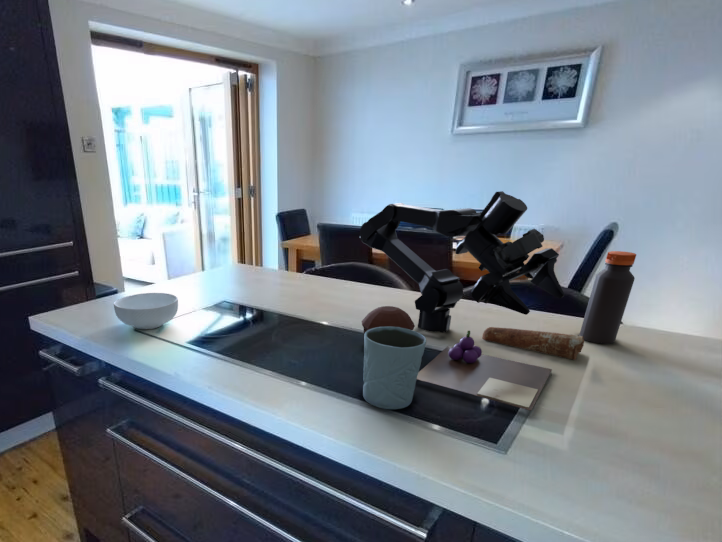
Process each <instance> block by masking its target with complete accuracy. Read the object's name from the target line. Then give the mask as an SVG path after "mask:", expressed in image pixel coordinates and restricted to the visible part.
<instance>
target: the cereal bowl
mask: <svg viewBox="0 0 722 542" xmlns="http://www.w3.org/2000/svg"><path fill="white" fill-rule="evenodd" d="M113 309H114V313H115V316H116V317H117V319H118V320H119V321H120V322H121V323H123V324H124V325H127V326H131V327H133V328H135V329H137V330H153V329H158V328H160V327H162V326H163V325H164V324H166V323H168V322H170V321H172V320H173V318H175V316H176V315H177V313H178V310H179V299H178V297H177V295H175V294H172V293H165V292H144V293H137V294H131V295H127V296H123V297H120V298H118V299H116V300H115V301H114V302H113Z"/></svg>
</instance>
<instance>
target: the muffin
mask: <svg viewBox="0 0 722 542" xmlns="http://www.w3.org/2000/svg"><path fill="white" fill-rule="evenodd" d="M361 326H362V328H363V335H364V334H365V332H366V331H367V330H369V329H372V328H376V327H400V328H405V329H409V330H413V331H414V328H415V327H416V325H415V323H414V321H413V320H412V318H411V316H410V315H409V313H407V312H406V310H405V311H404V310H403V309H402V308H400V307H397V306H393V305H392V306H391V305H385V306H379V307H376V308H374V309H373V310H371V311H370V312H368V313H367V315H365V316H364V317H363V319H362V320H361Z"/></svg>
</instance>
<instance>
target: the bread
mask: <svg viewBox="0 0 722 542" xmlns="http://www.w3.org/2000/svg"><path fill="white" fill-rule="evenodd" d="M482 339H483V340H484V341H487V342H490V343H491V342H492V343H495V344H501V345H505V346H509V347H514V348H519V349H523V350H528V351H531V352H537V353H540V354H541V353H542V354H546V355H550V356H555V357H558V358H562V359H567V360H573V361H576V360H577V358H578V354H580V353H581V352H582V350H583V347H584V346H585V345H584V344H585V340H584V337H583V336H580V335H576V334H567V333H559V332H550V331H541V330H533V329H532V330H531V329H520V328H510V327H497V326H488V327H487V328H485V330H484V331H483V333H482Z"/></svg>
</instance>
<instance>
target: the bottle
mask: <svg viewBox="0 0 722 542" xmlns="http://www.w3.org/2000/svg"><path fill="white" fill-rule="evenodd" d="M636 258H637V254H636V252H630V251H621V250H612V251H607V254H606V258H605V262H604V265H605V267H604V269H602V270H601V271H598V273H596V274H595V276H594V277H595V278H594V281H593V285H592V289H591V292H590V296H589V298H588V303H587V306H586V309H585V313H584V317H583V320H582V324H581V328H580V331H579V336H583V337H584V341H586V342H589V343H595V344H602V345H603V344H604V345H609V344H612V343H614V342H615V341H616V339H617V336H618V333H619V330H620V326H621V323H622V321H623V317H624V314H625V311H626V307H627V304H628V301H629V298H630V295H631V292H632V289H633V285H634V282H635V276H634V274H633V273H632V272H631V268H632V267H633V266H634V264H635V261H636Z"/></svg>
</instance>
